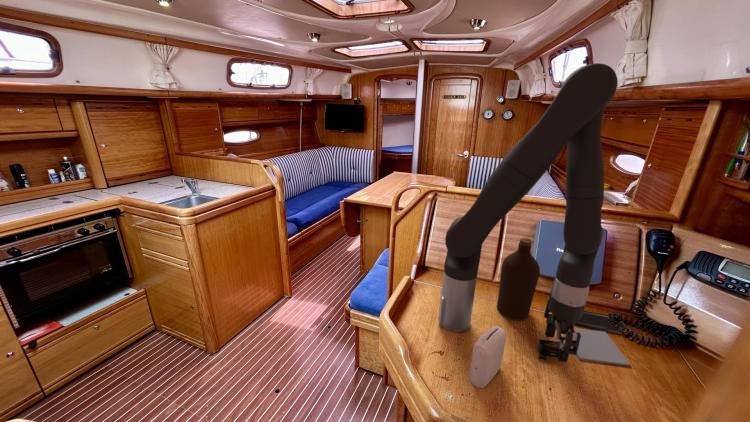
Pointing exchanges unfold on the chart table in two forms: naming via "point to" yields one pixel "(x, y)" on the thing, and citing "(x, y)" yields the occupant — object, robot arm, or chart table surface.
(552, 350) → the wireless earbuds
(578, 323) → the phone
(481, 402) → the chart table surface
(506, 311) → the olive oil
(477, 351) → the photo printer
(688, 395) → the chart table surface
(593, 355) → the mat
